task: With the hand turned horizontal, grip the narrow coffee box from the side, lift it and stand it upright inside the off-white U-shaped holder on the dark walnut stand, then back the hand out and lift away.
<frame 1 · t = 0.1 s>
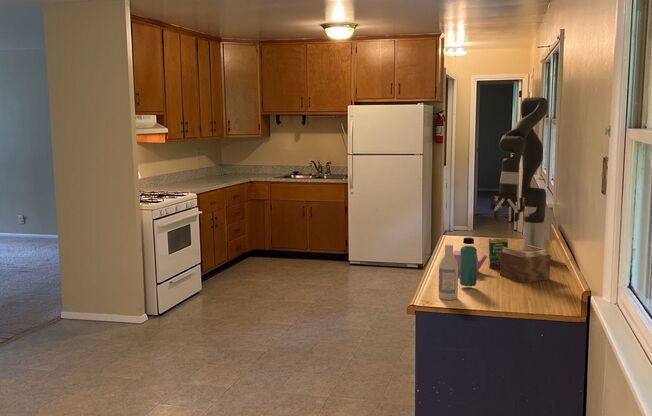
hand: (506, 220, 272), 22 cm above the countertop, tool pointing down, fingers open, 8 cm apart
teapot: (465, 273, 275), on the countertop
beverage bottle: (467, 288, 249), on the countertop
walnut stand: (524, 277, 266), on the countertop
coffee box: (497, 268, 283), on the countertop
bath foam: (447, 298, 236), on the countertop
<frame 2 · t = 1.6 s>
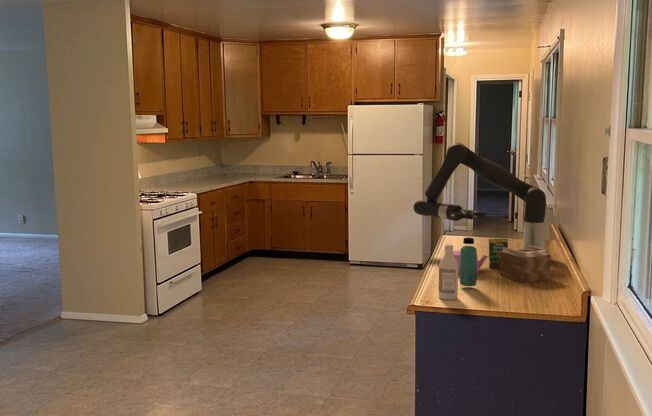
hand: (478, 216, 288), 22 cm above the countertop, tool horizontal, fingers open, 8 cm apart
nothing on the countertop moved.
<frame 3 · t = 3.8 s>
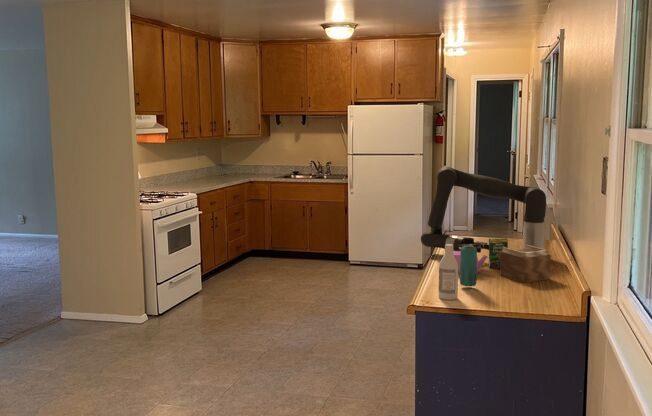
hand: (486, 249, 286), 7 cm above the countertop, tool horizontal, fingers open, 8 cm apart
nothing on the countertop moved.
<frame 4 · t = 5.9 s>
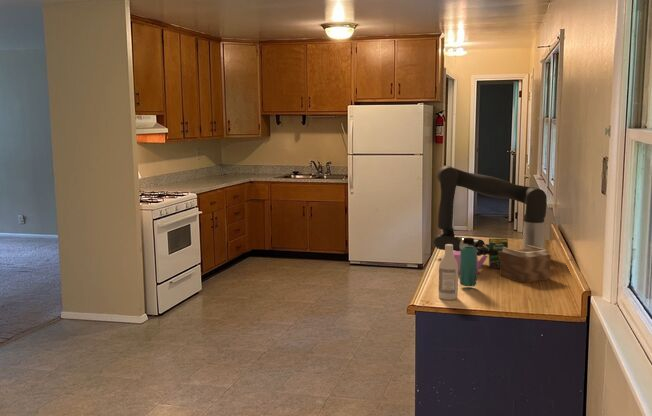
hand: (502, 251, 280), 8 cm above the countertop, tool horizontal, fingers closed on coffee box, 7 cm apart
coffee box: (497, 268, 283), on the countertop, touching gripper
everything else where it was.
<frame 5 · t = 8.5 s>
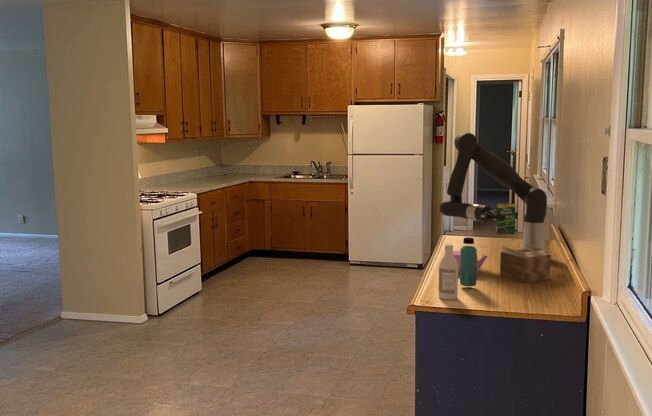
hand: (510, 217, 273), 24 cm above the countertop, tool horizontal, fingers closed on coffee box, 7 cm apart
coffee box: (505, 234, 276), point 16 cm above the countertop, touching gripper
everything else where it was.
when the fingers open (19 cm above the countertop, at t = 11.2 s): coffee box drops 1 cm, resting on walnut stand.
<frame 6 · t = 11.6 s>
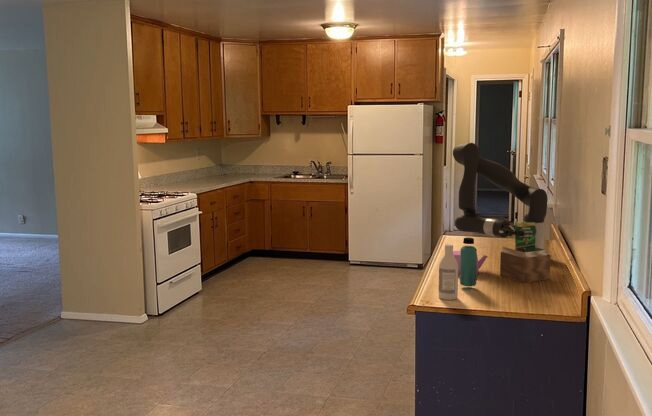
hand: (530, 232, 262), 19 cm above the countertop, tool horizontal, fingers open, 8 cm apart
coffee box: (524, 254, 265), point 10 cm above the countertop, touching walnut stand
everything else where it was.
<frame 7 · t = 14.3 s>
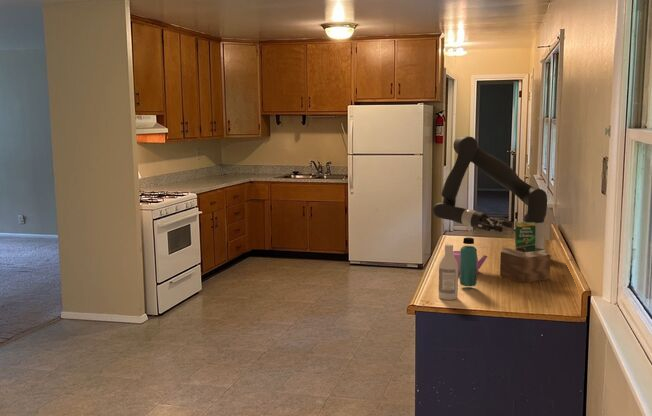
hand: (507, 227, 273), 19 cm above the countertop, tool horizontal, fingers open, 8 cm apart
nothing on the countertop moved.
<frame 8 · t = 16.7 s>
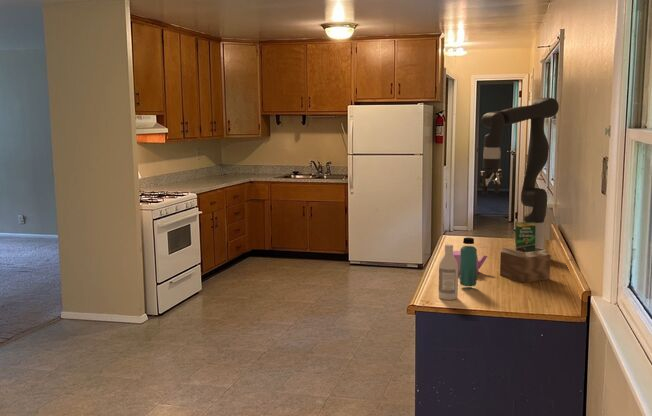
hand: (490, 193, 288), 32 cm above the countertop, tool pointing down, fingers open, 8 cm apart
nothing on the countertop moved.
at the end: coffee box inside the target area on the walnut stand (0.2 cm from its centre), point 9.8 cm above the walnut stand's base; coffee box tilted 0°; the gripper is holding nothing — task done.
